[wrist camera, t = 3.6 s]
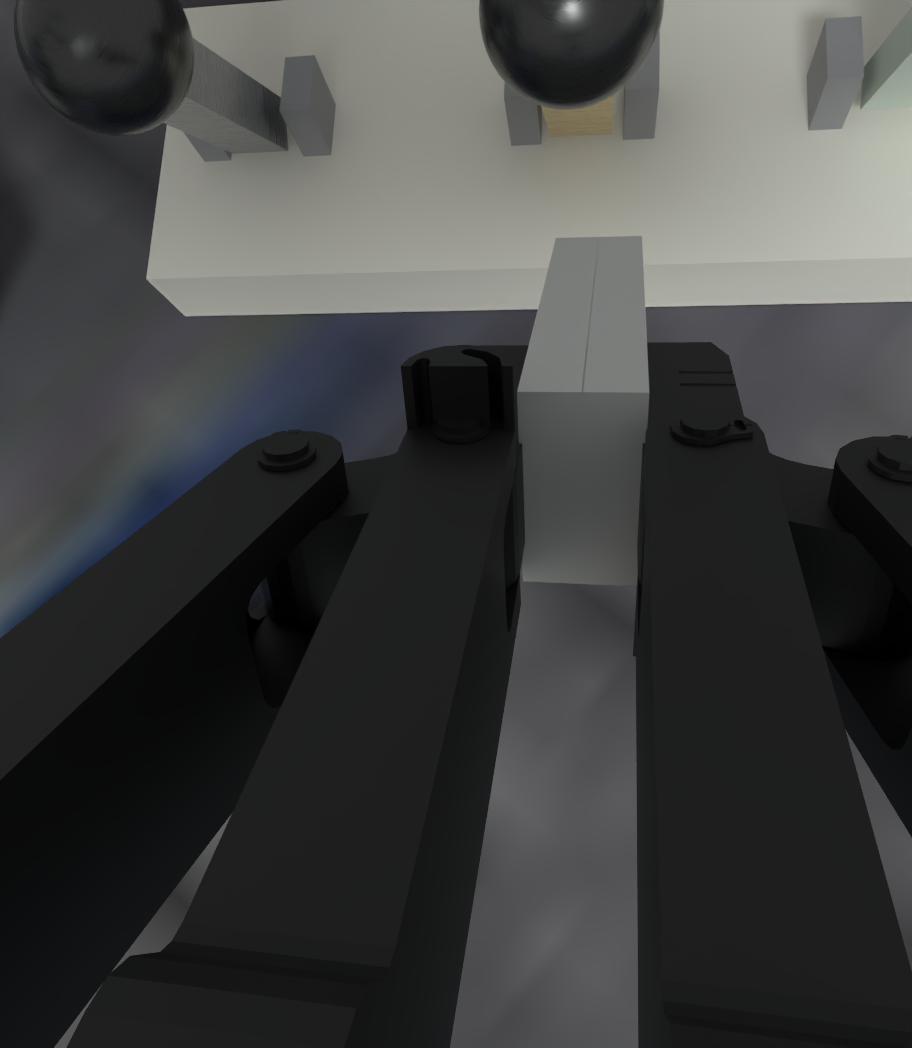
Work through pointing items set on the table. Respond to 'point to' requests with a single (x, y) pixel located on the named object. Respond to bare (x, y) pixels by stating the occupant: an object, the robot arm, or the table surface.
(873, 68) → the sage paddle
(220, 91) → the grey lever
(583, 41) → the brass lever
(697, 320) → the table surface
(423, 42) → the panel
